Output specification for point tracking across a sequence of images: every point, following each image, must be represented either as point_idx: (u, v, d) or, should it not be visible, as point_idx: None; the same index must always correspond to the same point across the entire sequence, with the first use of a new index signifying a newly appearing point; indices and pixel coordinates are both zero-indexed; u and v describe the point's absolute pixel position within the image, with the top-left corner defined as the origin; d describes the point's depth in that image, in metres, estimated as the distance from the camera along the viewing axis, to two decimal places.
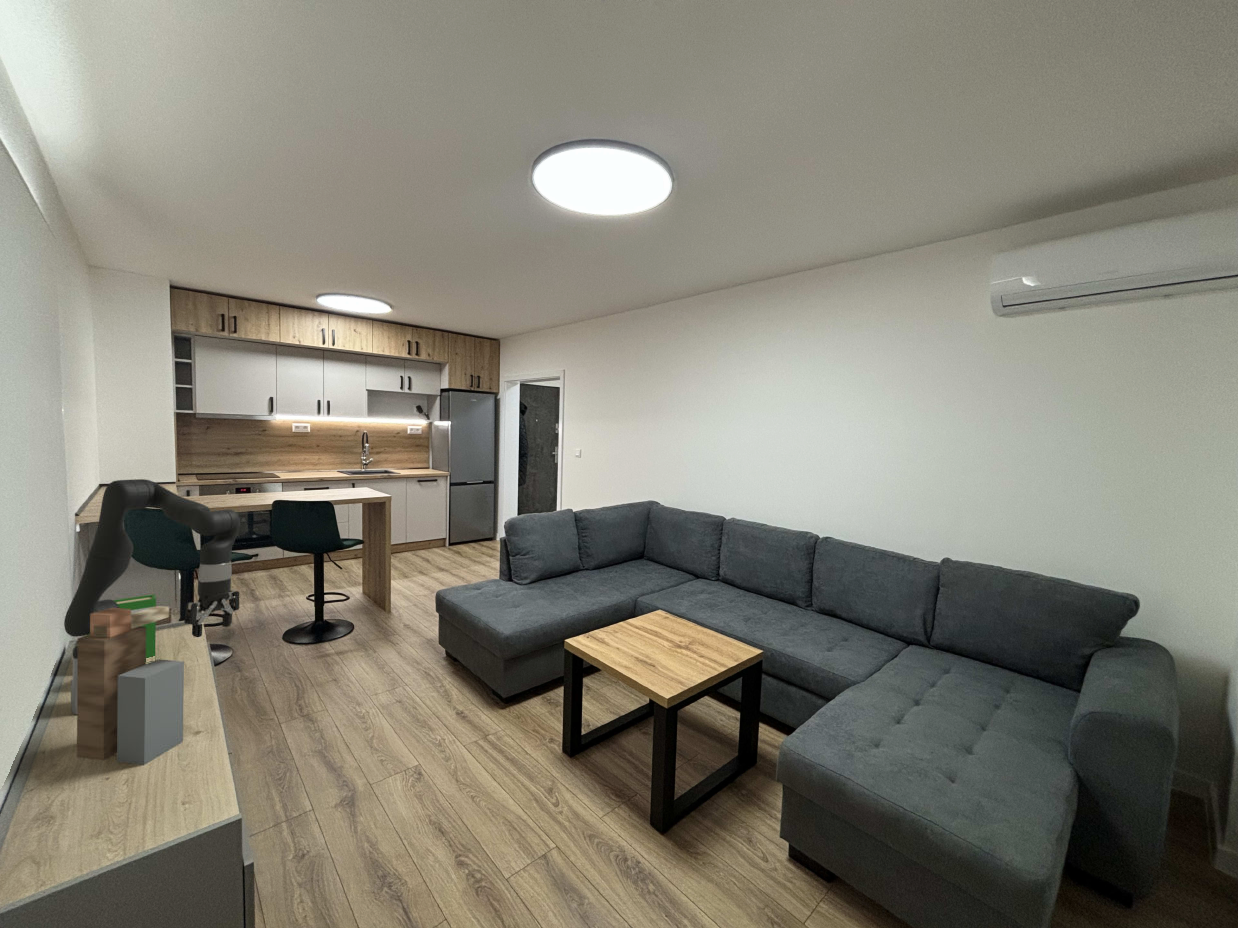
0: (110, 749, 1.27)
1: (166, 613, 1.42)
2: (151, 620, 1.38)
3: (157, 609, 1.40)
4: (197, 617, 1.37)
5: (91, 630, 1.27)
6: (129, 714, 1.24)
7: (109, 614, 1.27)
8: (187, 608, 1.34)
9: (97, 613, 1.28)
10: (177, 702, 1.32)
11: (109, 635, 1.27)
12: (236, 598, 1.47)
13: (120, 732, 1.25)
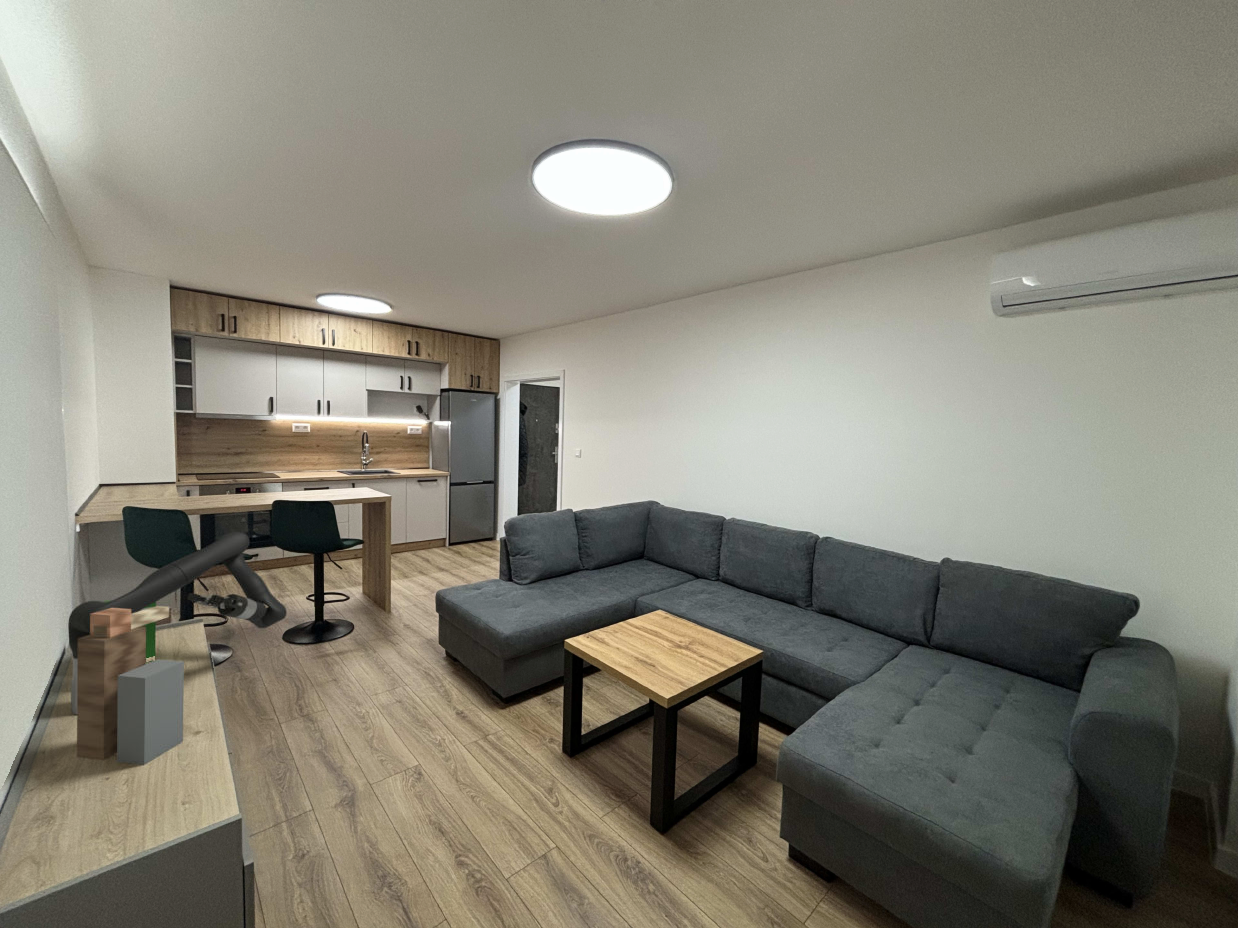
0: (110, 749, 1.27)
1: (166, 613, 1.42)
2: (151, 620, 1.38)
3: (157, 609, 1.40)
4: None
5: (91, 630, 1.27)
6: (129, 714, 1.24)
7: (109, 614, 1.27)
8: (240, 602, 1.66)
9: (97, 613, 1.28)
10: (177, 702, 1.32)
11: (109, 635, 1.27)
12: None
13: (120, 732, 1.25)
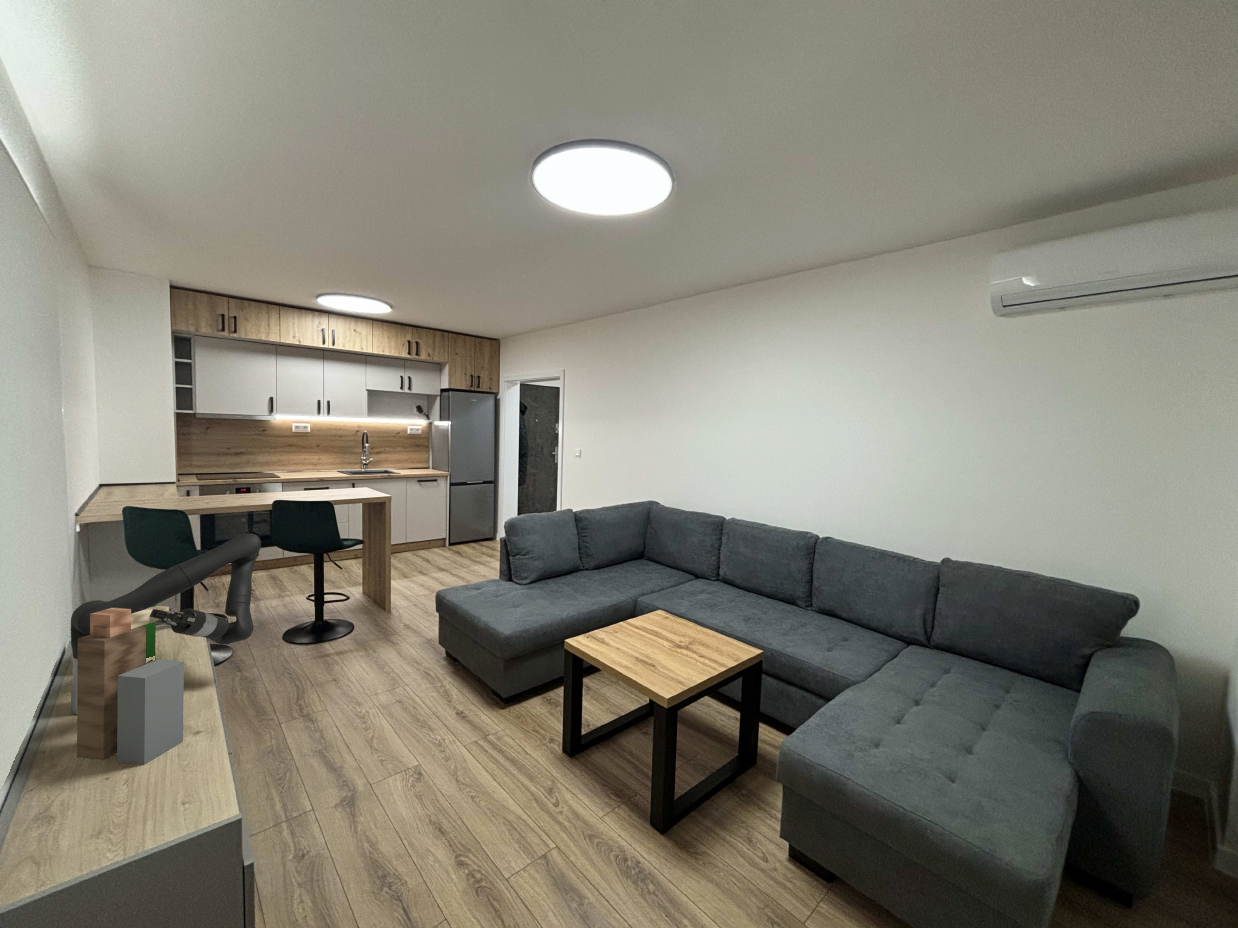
0: (110, 749, 1.27)
1: None
2: (151, 620, 1.38)
3: None
4: None
5: (91, 630, 1.27)
6: (129, 714, 1.24)
7: (109, 614, 1.27)
8: (190, 617, 1.45)
9: (97, 613, 1.27)
10: (177, 702, 1.32)
11: (109, 635, 1.27)
12: None
13: (120, 732, 1.25)
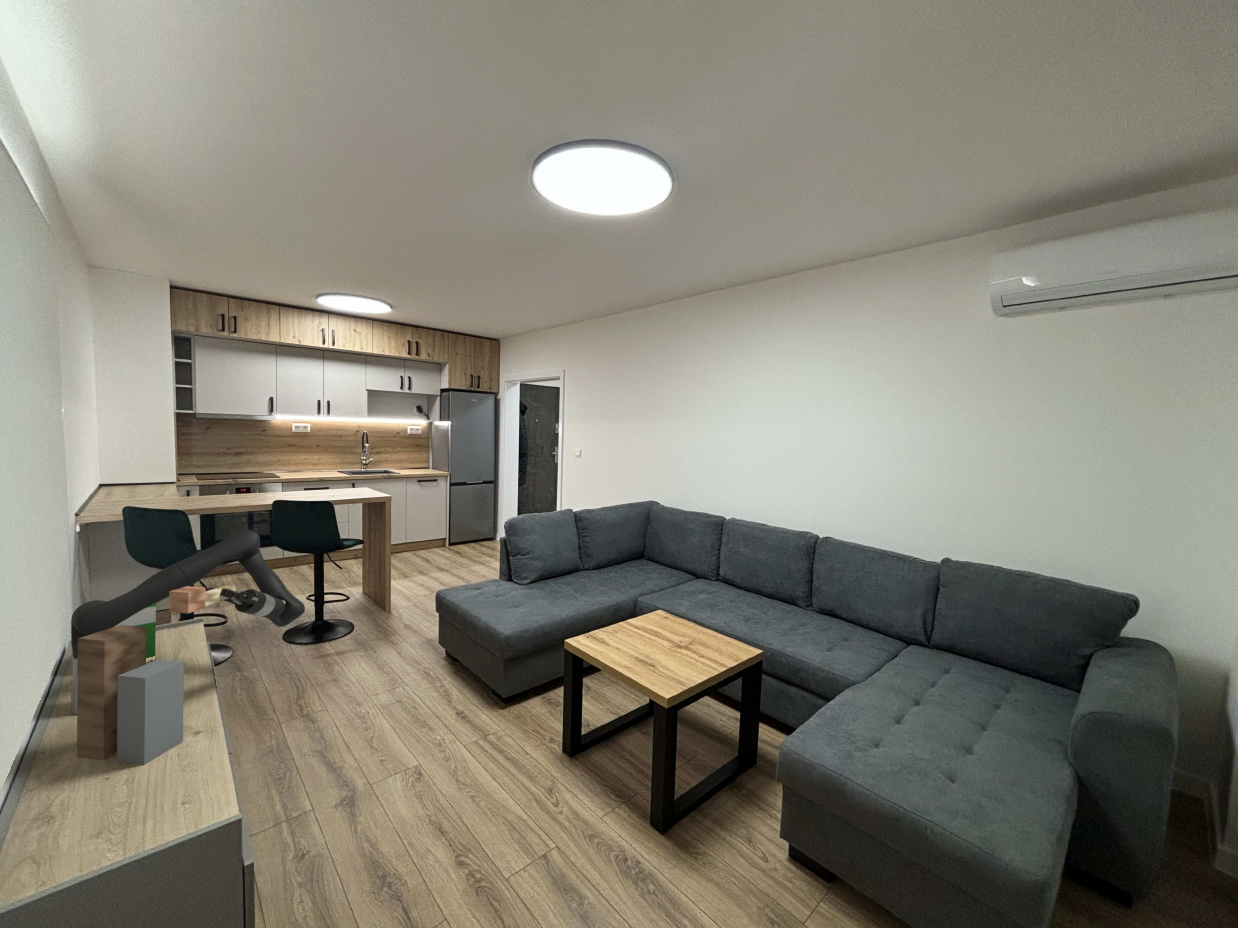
0: (110, 749, 1.27)
1: None
2: (221, 598, 1.47)
3: (225, 588, 1.49)
4: None
5: (170, 607, 1.36)
6: (129, 714, 1.24)
7: (187, 591, 1.36)
8: (254, 596, 1.54)
9: (175, 591, 1.36)
10: (177, 702, 1.32)
11: (187, 611, 1.36)
12: None
13: (120, 732, 1.25)
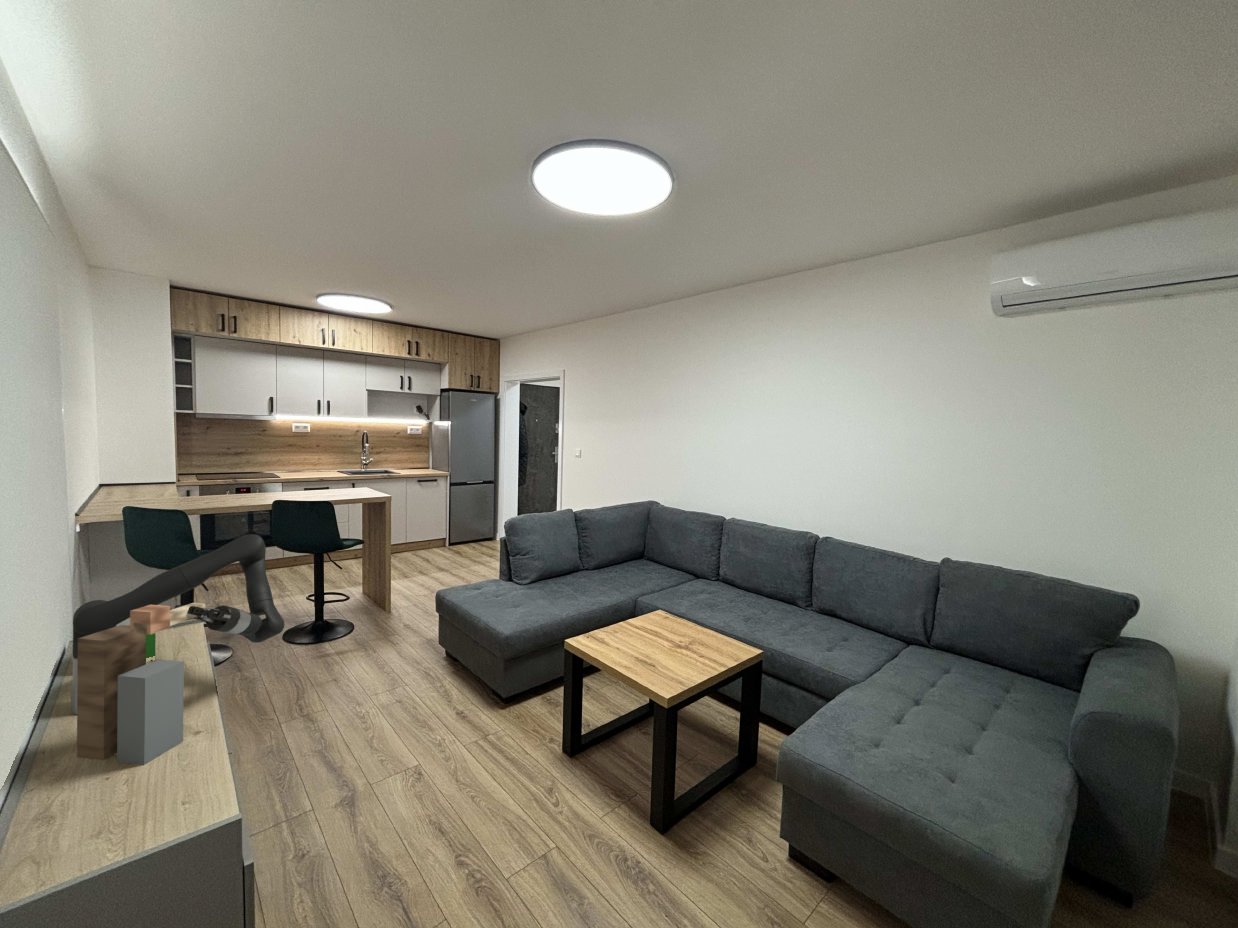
0: (110, 749, 1.27)
1: None
2: (188, 617, 1.37)
3: None
4: None
5: (131, 628, 1.26)
6: (129, 714, 1.24)
7: (149, 611, 1.26)
8: (226, 613, 1.44)
9: (137, 610, 1.26)
10: (177, 702, 1.32)
11: (149, 632, 1.25)
12: None
13: (120, 732, 1.25)
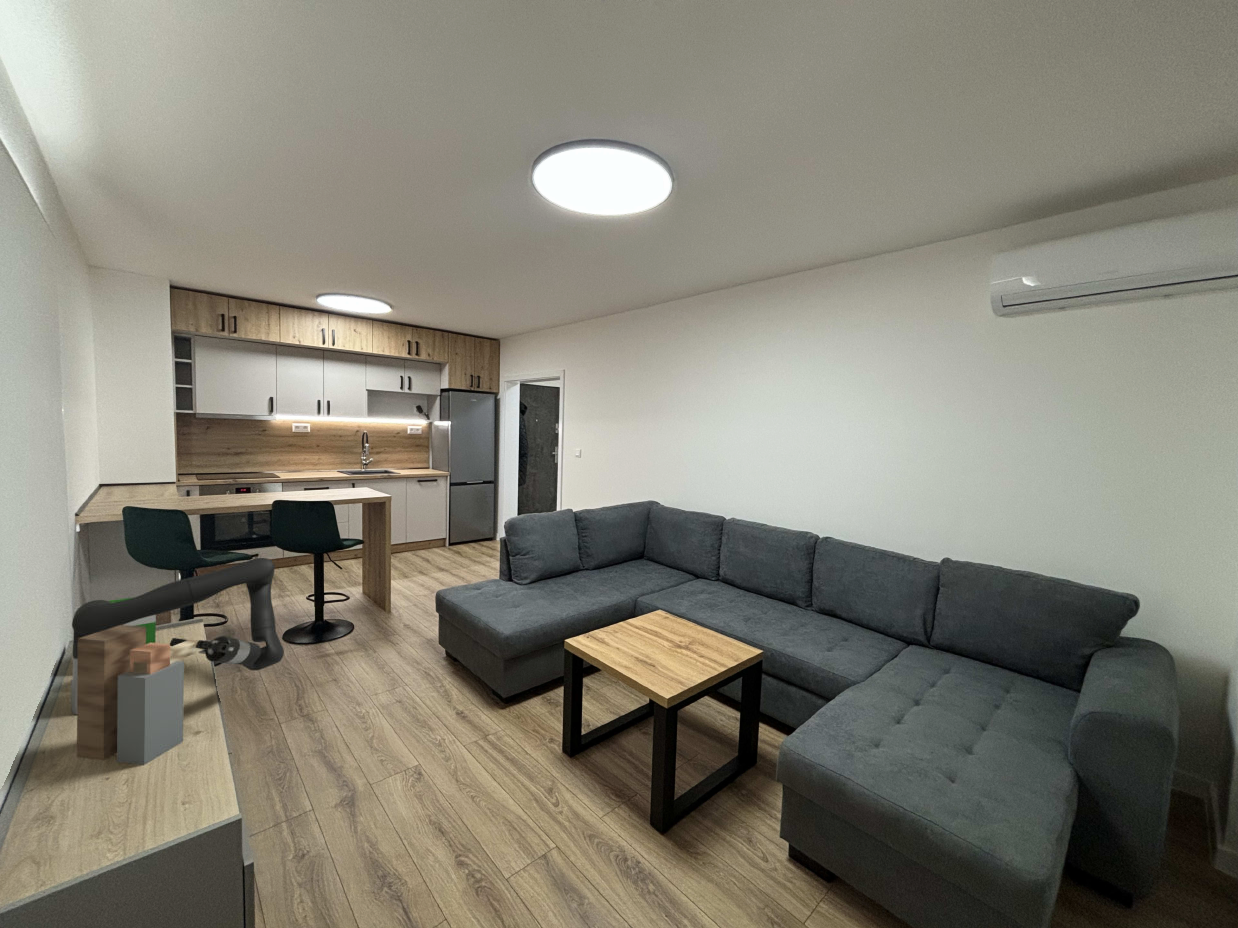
0: (110, 749, 1.27)
1: None
2: (188, 654, 1.37)
3: (194, 642, 1.39)
4: None
5: (131, 667, 1.26)
6: (129, 714, 1.24)
7: (150, 650, 1.26)
8: (231, 646, 1.45)
9: (137, 649, 1.27)
10: (177, 702, 1.32)
11: (149, 672, 1.26)
12: None
13: (120, 732, 1.25)
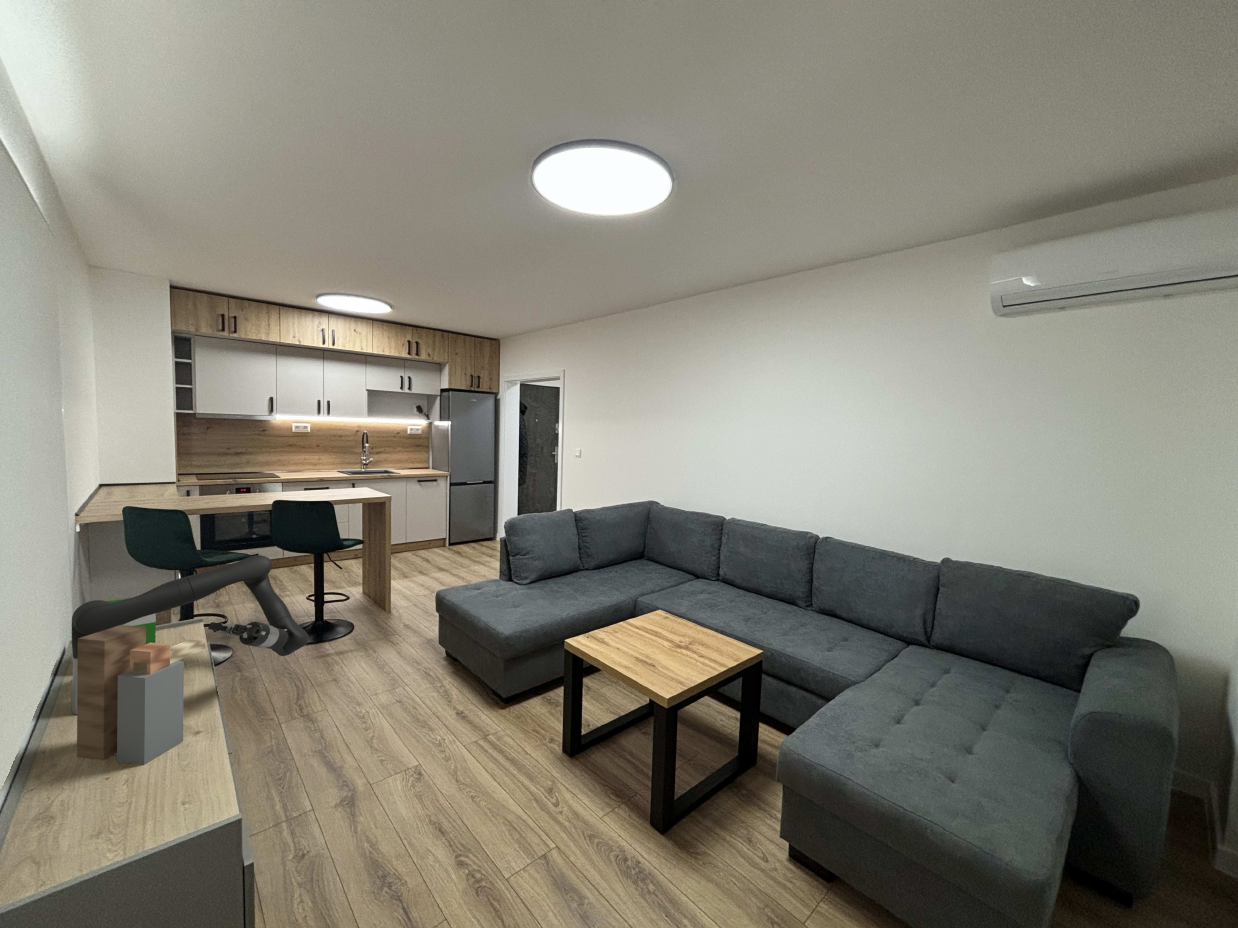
0: (110, 749, 1.27)
1: (202, 645, 1.41)
2: (188, 654, 1.37)
3: (194, 642, 1.39)
4: None
5: (131, 667, 1.26)
6: (129, 714, 1.24)
7: (150, 650, 1.26)
8: (263, 630, 1.57)
9: (137, 649, 1.27)
10: (177, 702, 1.32)
11: (149, 672, 1.26)
12: None
13: (120, 732, 1.25)
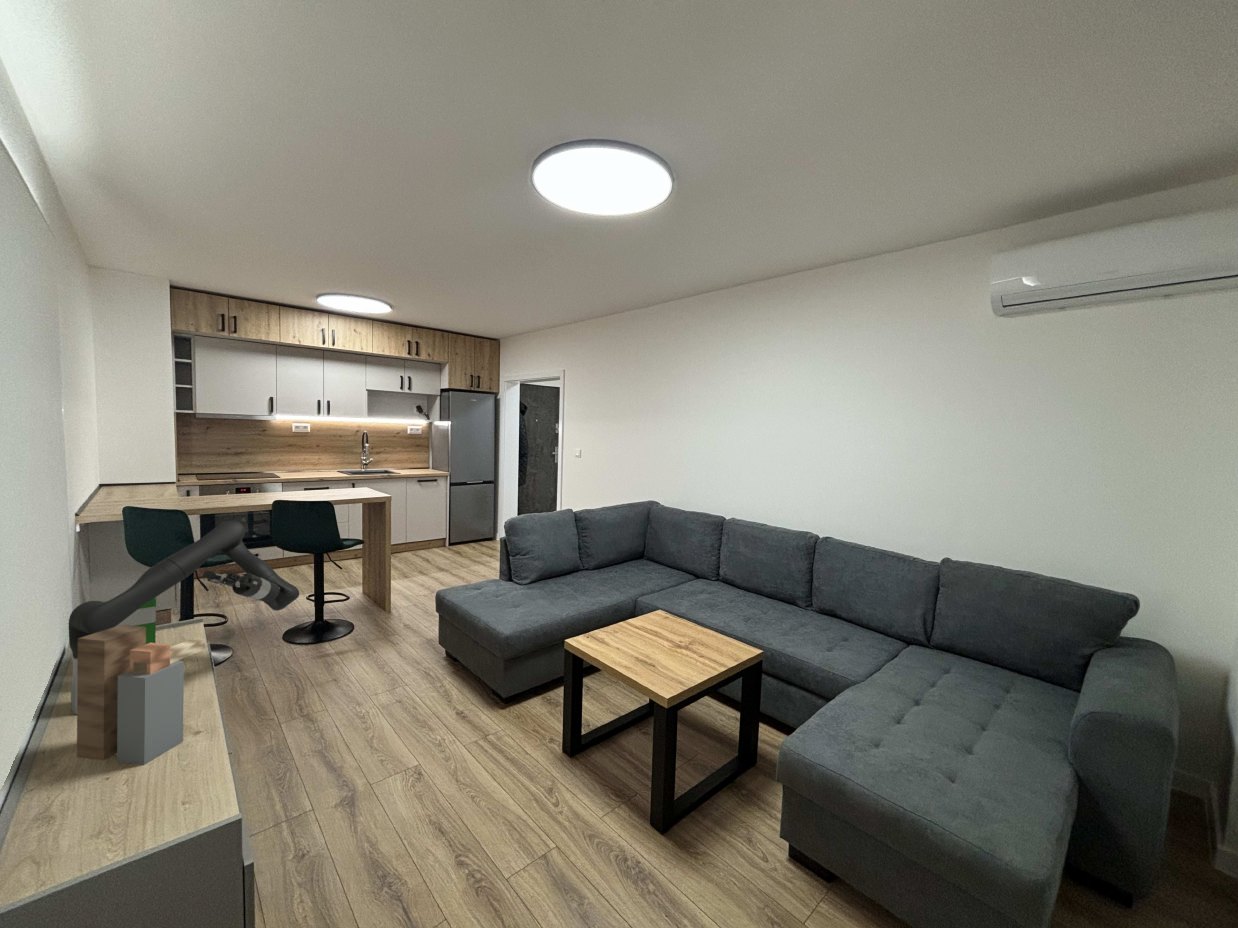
0: (110, 749, 1.27)
1: (202, 645, 1.41)
2: (188, 654, 1.37)
3: (194, 642, 1.39)
4: None
5: (131, 667, 1.26)
6: (129, 714, 1.24)
7: (150, 650, 1.26)
8: (255, 580, 1.65)
9: (137, 649, 1.27)
10: (177, 702, 1.32)
11: (149, 672, 1.26)
12: None
13: (120, 732, 1.25)
